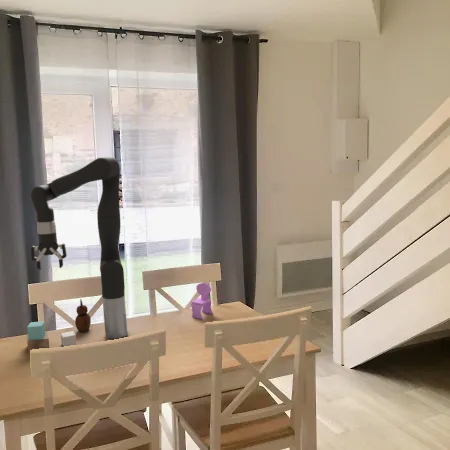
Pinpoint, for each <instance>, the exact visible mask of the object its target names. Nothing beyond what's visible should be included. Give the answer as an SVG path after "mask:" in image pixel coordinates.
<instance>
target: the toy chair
mask: <svg viewBox="0 0 450 450" xmlns="http://www.w3.org/2000/svg"><path fill="white" fill-rule="evenodd" d="M196 291H197V294H198V295H200V297H198V298H196V299H195V300H192V301H191V304H190V306H191V313H192V316H191V318H195V319H200V320H203V319H204V318H203V316H202V313H205V314H210V315H214V312H213V310H212V307H211V305H212V300H211V299H208V295H209V294H211V292H212V289H211V286H210V285H209V284H208V283H206V282H201V283H198V284H197V285H196Z"/></svg>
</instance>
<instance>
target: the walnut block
mask: <svg viewBox="0 0 450 450" xmlns="http://www.w3.org/2000/svg"><path fill="white" fill-rule="evenodd" d="M45 332H46V334H45V336H44V338H43V339H39V340H28V334H27V335H26V343H27V352H28V353H27V354H30V353H29V352H30V350H32V349H39V348H50V337H49V335H48V331H45Z"/></svg>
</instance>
